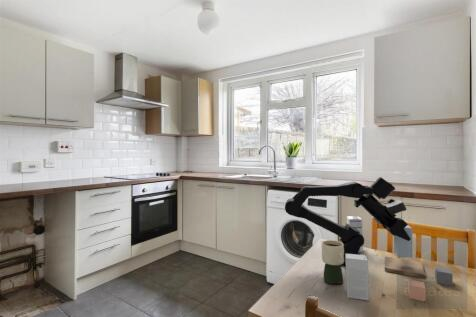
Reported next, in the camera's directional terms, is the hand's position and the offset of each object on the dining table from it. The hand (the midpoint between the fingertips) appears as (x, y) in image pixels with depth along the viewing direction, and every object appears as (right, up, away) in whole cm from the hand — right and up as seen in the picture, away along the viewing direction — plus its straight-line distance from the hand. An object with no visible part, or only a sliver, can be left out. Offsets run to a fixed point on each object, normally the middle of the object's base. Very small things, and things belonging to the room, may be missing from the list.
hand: (406, 238), depth 95 cm
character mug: (-31, -12, -9) cm, 34 cm away
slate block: (-1, -7, 0) cm, 7 cm away
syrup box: (-10, -12, +21) cm, 26 cm away
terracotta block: (-10, -12, -19) cm, 24 cm away
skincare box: (-27, -12, -18) cm, 35 cm away
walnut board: (-1, -11, 0) cm, 11 cm away
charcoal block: (+5, -11, -10) cm, 16 cm away
